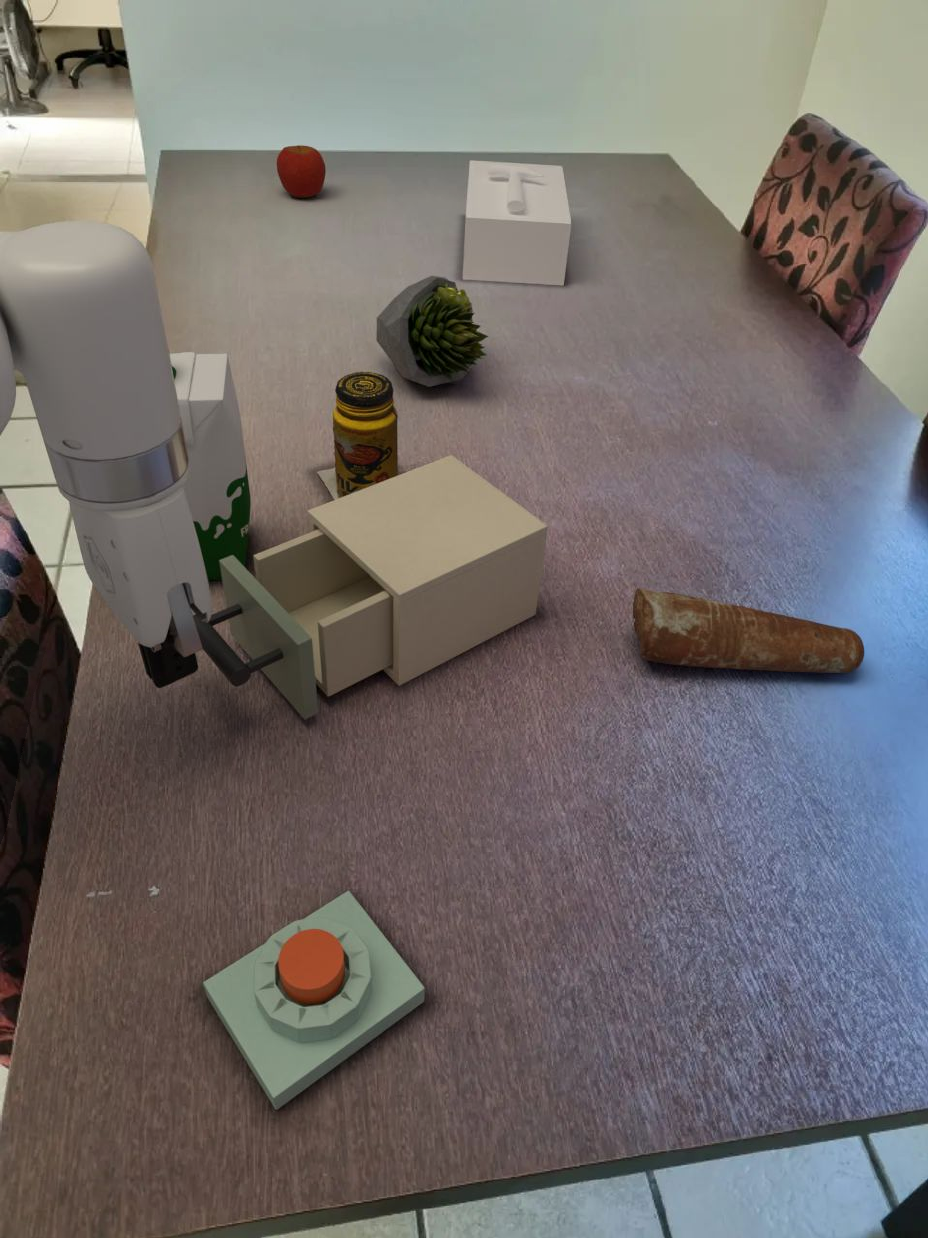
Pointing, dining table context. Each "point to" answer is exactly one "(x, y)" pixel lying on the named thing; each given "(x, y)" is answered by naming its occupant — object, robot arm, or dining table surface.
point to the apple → (301, 170)
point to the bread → (738, 637)
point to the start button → (311, 966)
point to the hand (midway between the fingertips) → (173, 673)
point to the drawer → (302, 620)
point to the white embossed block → (516, 223)
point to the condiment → (362, 434)
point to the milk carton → (213, 457)
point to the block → (313, 1033)
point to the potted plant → (430, 332)
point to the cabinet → (440, 558)
